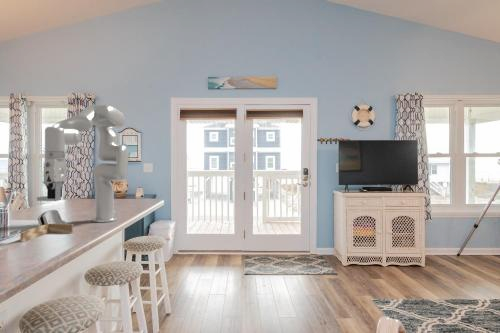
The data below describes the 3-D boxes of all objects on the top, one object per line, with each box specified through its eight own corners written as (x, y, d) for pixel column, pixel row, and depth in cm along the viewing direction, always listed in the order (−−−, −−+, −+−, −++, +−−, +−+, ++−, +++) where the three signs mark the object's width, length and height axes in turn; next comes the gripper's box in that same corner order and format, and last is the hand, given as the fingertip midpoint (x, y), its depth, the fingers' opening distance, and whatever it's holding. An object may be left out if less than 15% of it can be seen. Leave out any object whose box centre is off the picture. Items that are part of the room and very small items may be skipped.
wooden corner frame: (48, 232, 156) (48, 223, 156) (73, 232, 156) (73, 224, 155) (20, 241, 138) (20, 232, 138) (48, 242, 138) (48, 232, 137)
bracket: (60, 199, 146) (60, 181, 146) (55, 201, 142) (55, 182, 142) (42, 199, 147) (42, 181, 146) (36, 200, 143) (36, 182, 142)
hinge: (53, 231, 157) (45, 211, 156) (42, 235, 156) (34, 215, 155) (66, 224, 173) (59, 206, 172) (57, 227, 172) (50, 209, 172)
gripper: (51, 155, 136) (51, 200, 136) (74, 156, 152) (73, 196, 153) (33, 155, 136) (33, 200, 136) (57, 155, 153) (57, 195, 153)
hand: (54, 197), depth 144 cm, fingers closed on bracket, 4 cm apart
